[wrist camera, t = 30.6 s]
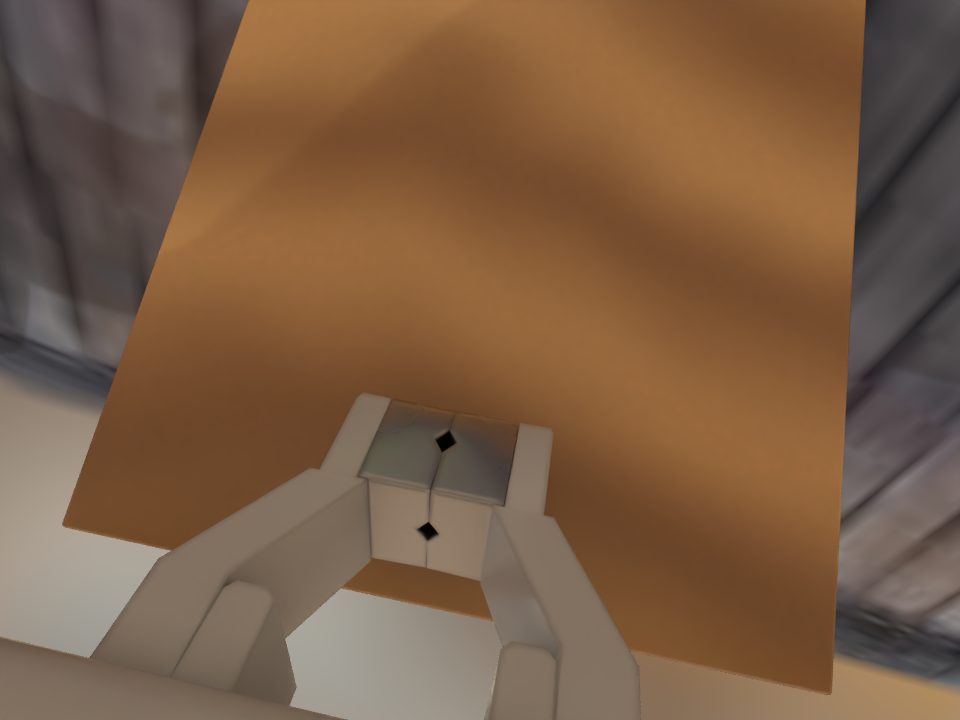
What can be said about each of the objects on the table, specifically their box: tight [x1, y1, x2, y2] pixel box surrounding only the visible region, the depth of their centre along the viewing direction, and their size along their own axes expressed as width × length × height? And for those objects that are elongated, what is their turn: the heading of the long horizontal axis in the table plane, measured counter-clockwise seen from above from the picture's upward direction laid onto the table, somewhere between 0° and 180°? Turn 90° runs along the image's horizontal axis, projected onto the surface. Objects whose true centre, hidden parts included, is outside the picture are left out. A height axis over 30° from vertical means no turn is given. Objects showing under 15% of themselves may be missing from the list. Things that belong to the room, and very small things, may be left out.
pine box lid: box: [62, 0, 866, 695], centre depth 12 cm, size 14×13×1 cm
